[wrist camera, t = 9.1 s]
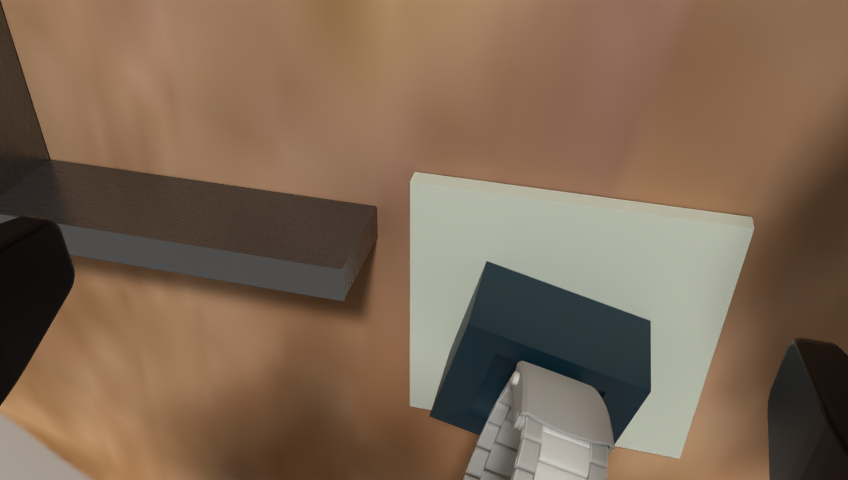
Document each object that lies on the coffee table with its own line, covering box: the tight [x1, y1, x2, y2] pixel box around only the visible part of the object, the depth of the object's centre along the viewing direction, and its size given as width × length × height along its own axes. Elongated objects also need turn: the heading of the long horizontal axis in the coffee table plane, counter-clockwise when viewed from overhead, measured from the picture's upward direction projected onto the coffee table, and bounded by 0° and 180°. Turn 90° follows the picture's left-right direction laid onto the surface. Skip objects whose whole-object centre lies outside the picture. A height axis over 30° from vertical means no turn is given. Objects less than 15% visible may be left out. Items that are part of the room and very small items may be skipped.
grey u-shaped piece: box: [0, 4, 377, 301], centre depth 21 cm, size 13×13×4 cm
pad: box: [410, 172, 754, 459], centre depth 25 cm, size 10×10×1 cm
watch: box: [430, 261, 651, 480], centre depth 21 cm, size 6×8×11 cm
